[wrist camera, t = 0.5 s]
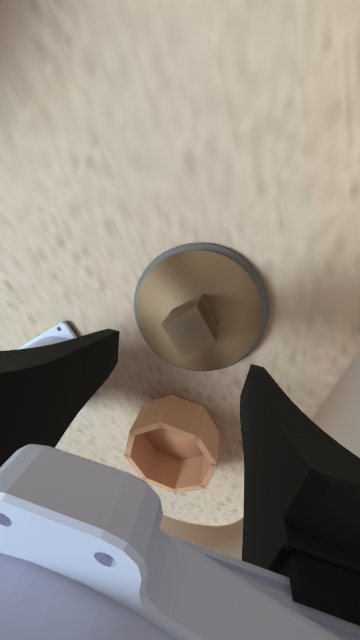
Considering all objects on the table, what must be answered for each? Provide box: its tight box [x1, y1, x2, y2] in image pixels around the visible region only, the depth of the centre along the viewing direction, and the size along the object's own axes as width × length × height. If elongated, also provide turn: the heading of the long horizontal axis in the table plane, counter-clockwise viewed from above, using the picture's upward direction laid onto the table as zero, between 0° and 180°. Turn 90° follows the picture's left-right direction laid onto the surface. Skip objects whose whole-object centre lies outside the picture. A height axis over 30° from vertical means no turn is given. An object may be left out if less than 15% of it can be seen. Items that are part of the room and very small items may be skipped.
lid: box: [136, 250, 263, 371], centre depth 19 cm, size 11×11×4 cm
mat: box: [134, 243, 268, 371], centre depth 21 cm, size 12×12×1 cm
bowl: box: [124, 394, 220, 494], centre depth 25 cm, size 9×9×4 cm
